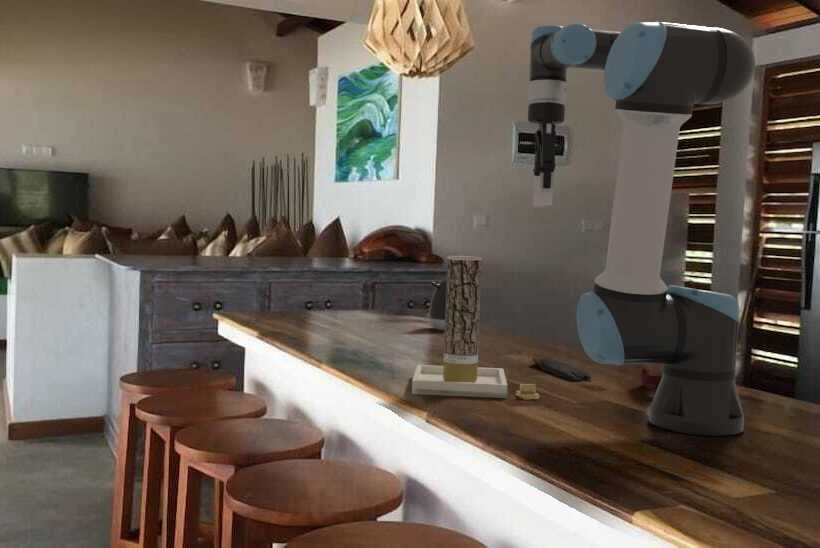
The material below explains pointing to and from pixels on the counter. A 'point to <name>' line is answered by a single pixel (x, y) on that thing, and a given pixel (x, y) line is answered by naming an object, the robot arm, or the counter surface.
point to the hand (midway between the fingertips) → (542, 206)
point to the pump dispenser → (438, 305)
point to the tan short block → (527, 392)
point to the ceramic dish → (459, 383)
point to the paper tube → (462, 318)
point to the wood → (562, 370)
